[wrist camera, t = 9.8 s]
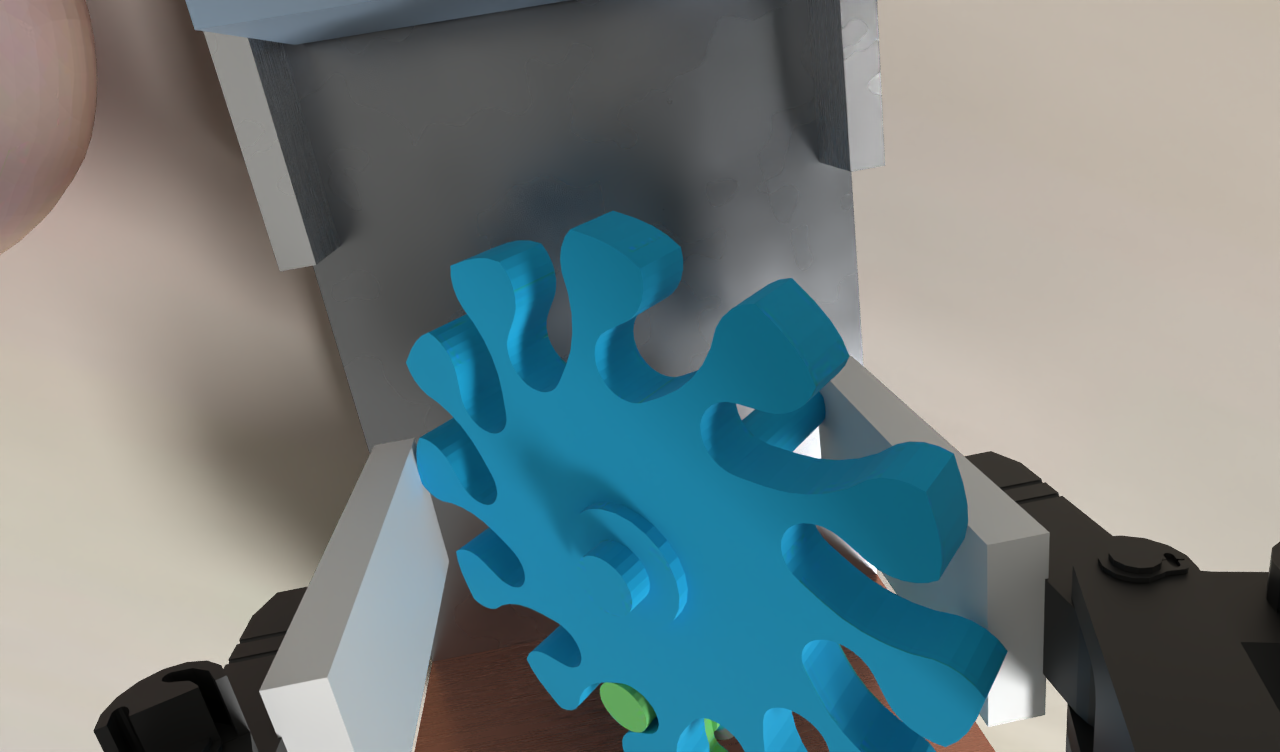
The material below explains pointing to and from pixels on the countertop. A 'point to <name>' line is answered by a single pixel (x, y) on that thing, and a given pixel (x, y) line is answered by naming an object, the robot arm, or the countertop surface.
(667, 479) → the gear
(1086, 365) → the countertop surface
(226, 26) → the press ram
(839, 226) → the frame
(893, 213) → the countertop surface
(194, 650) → the countertop surface
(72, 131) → the decorative fruit
